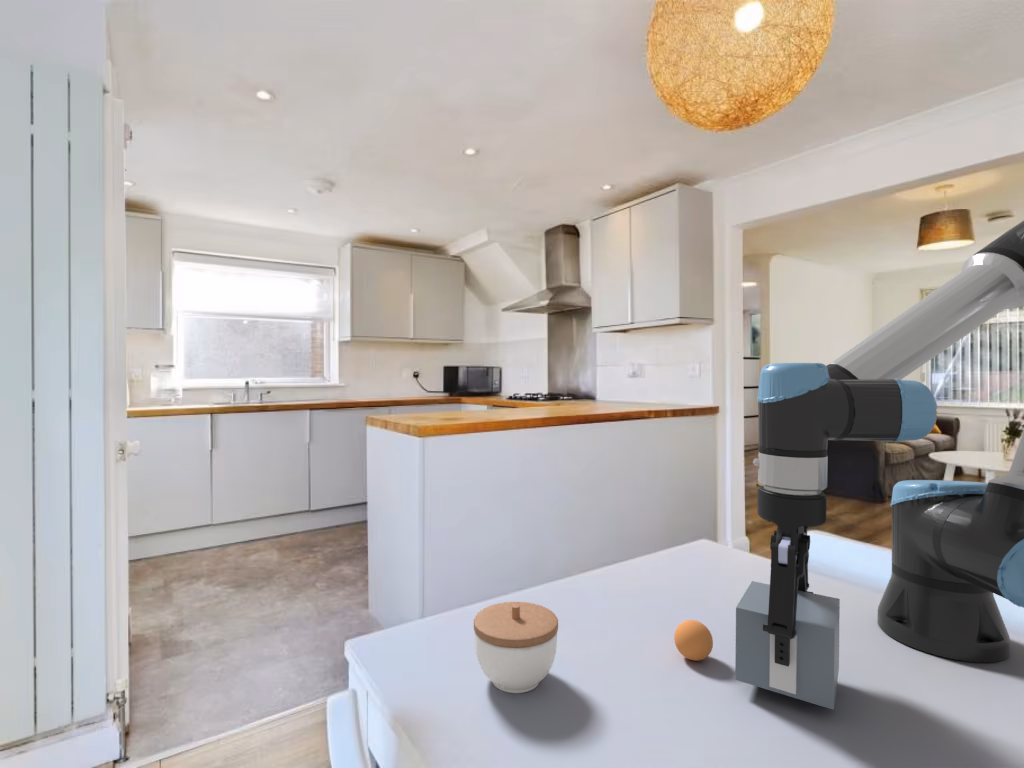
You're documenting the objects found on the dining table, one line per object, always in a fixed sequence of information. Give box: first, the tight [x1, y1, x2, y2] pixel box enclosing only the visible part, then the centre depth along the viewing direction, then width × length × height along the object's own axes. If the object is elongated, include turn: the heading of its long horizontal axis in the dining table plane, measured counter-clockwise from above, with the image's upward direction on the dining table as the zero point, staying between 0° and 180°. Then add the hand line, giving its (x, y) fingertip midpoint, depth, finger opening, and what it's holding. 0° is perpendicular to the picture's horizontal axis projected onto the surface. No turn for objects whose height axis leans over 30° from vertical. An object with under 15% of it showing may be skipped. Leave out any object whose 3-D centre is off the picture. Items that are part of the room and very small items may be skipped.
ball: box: [673, 619, 714, 662], centre depth 72 cm, size 5×5×5 cm
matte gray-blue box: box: [734, 580, 841, 711], centre depth 65 cm, size 10×10×9 cm
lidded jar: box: [473, 601, 559, 694], centre depth 67 cm, size 11×11×9 cm
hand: (789, 667), depth 65 cm, fingers closed on matte gray-blue box, 10 cm apart
